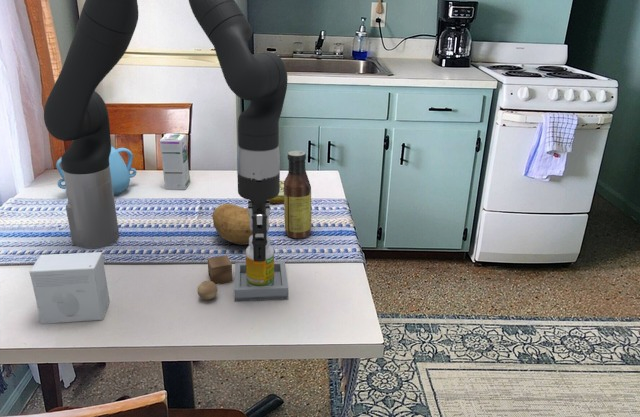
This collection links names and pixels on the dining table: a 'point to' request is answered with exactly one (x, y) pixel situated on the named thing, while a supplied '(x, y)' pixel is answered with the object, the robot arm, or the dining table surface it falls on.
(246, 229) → the potato
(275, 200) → the decorated donut
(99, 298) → the skincare box
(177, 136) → the syrup box
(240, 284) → the tray
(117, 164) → the decorative pot
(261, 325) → the dining table surface
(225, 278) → the walnut block
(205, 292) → the cork ball
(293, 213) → the sauce bottle
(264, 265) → the supplement bottle
